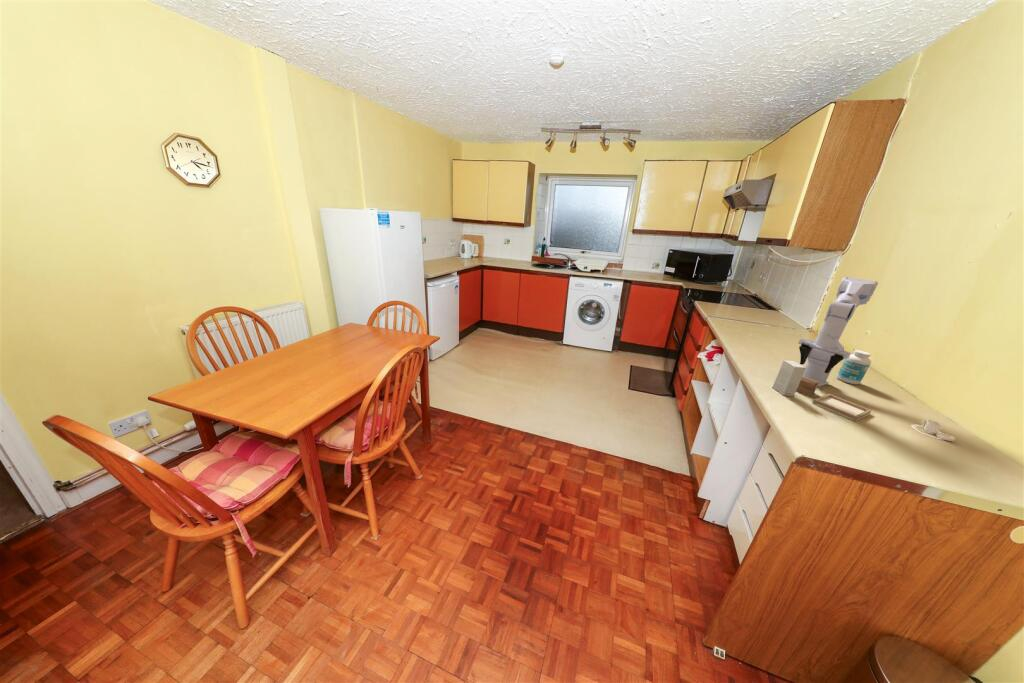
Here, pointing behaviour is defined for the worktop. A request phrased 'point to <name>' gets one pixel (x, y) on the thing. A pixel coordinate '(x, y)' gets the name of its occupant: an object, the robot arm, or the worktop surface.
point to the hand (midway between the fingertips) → (813, 368)
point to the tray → (842, 407)
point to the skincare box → (788, 378)
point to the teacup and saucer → (933, 430)
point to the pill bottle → (854, 367)
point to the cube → (807, 386)
